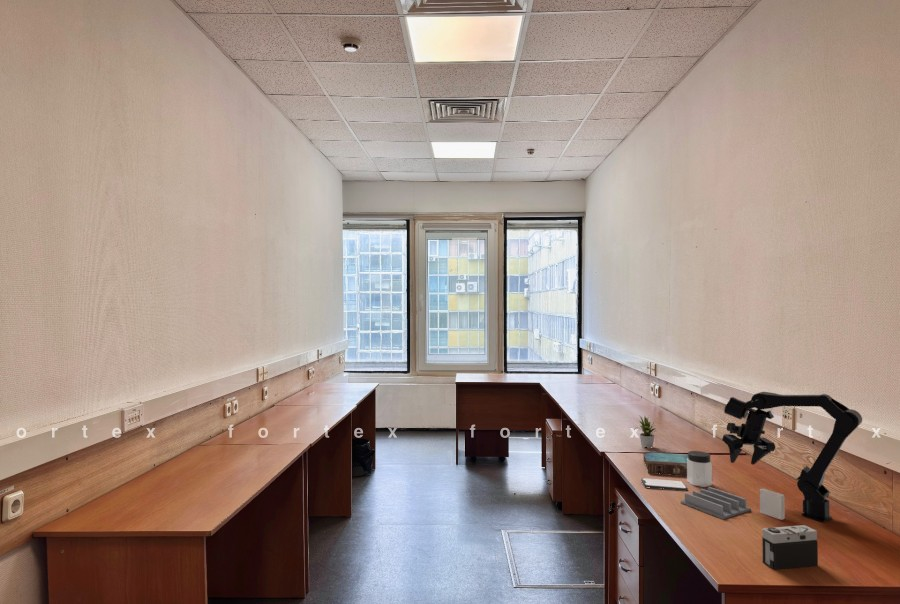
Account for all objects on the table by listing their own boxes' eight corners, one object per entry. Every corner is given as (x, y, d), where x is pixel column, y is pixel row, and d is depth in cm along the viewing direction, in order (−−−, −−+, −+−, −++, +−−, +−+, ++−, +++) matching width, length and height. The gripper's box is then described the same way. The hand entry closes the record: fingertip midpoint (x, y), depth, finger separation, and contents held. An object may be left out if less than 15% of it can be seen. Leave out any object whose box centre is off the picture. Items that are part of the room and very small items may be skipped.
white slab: (784, 518, 169) (784, 494, 169) (781, 520, 168) (781, 496, 168) (763, 511, 175) (763, 488, 175) (759, 512, 174) (759, 489, 174)
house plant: (624, 443, 261) (624, 412, 262) (646, 441, 266) (646, 410, 266) (642, 451, 248) (642, 418, 248) (665, 449, 252) (665, 416, 252)
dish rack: (750, 510, 175) (750, 499, 176) (722, 519, 168) (722, 508, 168) (708, 495, 190) (708, 485, 190) (680, 503, 182) (680, 492, 182)
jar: (686, 484, 201) (686, 454, 201) (687, 478, 208) (687, 449, 208) (711, 488, 197) (711, 457, 197) (712, 482, 204) (711, 452, 204)
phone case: (682, 484, 203) (640, 481, 206) (682, 481, 203) (640, 477, 206) (688, 493, 194) (644, 489, 197) (688, 488, 194) (644, 485, 197)
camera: (794, 552, 146) (793, 517, 146) (819, 566, 137) (818, 529, 138) (751, 555, 143) (751, 520, 144) (774, 570, 135) (773, 533, 135)
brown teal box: (648, 474, 214) (648, 463, 215) (642, 462, 232) (642, 451, 232) (706, 479, 209) (706, 467, 209) (695, 466, 226) (695, 454, 226)
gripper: (758, 417, 194) (746, 454, 197) (717, 413, 190) (706, 450, 192) (782, 430, 183) (769, 469, 186) (739, 426, 179) (727, 466, 182)
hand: (742, 463), depth 187 cm, fingers open, 9 cm apart
